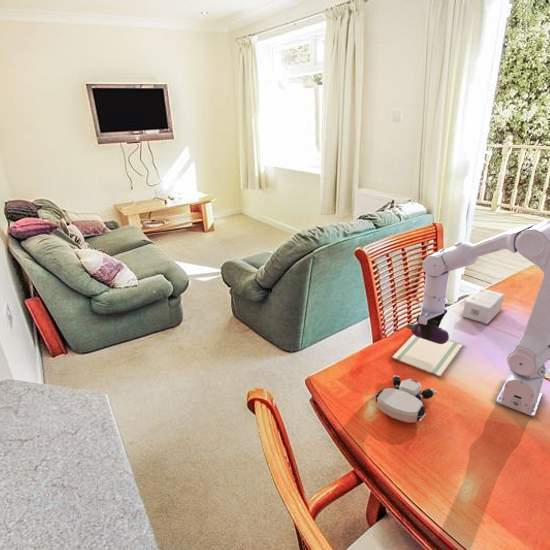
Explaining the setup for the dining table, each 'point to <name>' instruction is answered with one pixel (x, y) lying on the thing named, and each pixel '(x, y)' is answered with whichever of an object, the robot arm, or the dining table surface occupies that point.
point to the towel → (427, 354)
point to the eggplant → (437, 336)
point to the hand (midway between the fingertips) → (429, 334)
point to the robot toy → (403, 400)
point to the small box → (483, 305)
